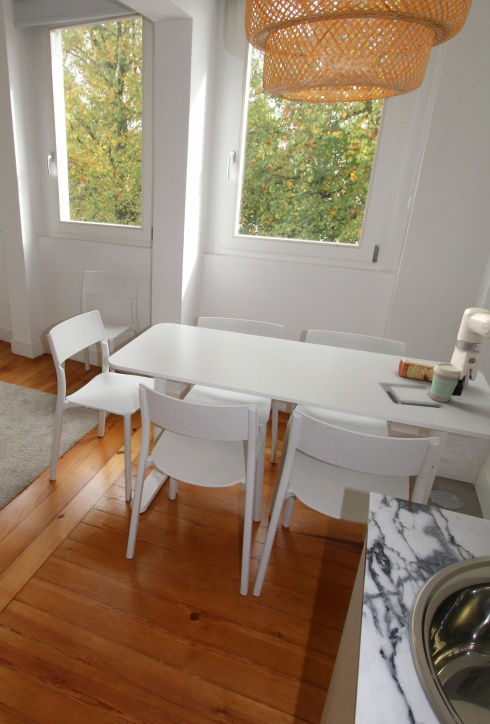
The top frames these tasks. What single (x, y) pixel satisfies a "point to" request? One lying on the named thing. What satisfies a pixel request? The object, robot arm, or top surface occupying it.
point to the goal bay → (409, 403)
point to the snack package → (416, 369)
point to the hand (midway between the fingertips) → (454, 394)
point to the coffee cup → (444, 381)
